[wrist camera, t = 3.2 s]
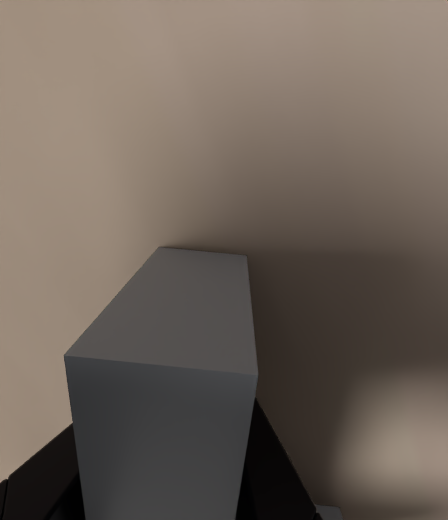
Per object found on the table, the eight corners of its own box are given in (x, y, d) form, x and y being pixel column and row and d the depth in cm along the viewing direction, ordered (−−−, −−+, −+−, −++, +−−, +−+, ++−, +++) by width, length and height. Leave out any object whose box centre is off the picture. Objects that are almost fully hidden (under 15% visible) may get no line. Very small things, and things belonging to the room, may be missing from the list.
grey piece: (423, 272, 8) (656, 414, 3) (330, 531, 12) (383, 745, 7) (-14, 230, 8) (-317, 316, 4) (42, 500, 12) (-67, 693, 7)
